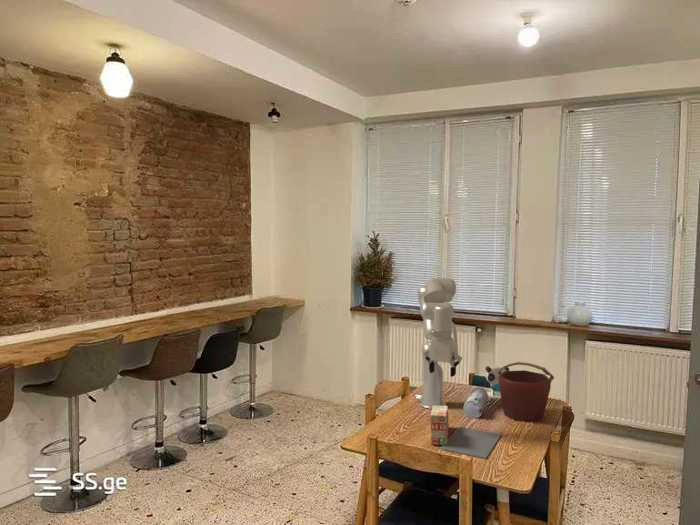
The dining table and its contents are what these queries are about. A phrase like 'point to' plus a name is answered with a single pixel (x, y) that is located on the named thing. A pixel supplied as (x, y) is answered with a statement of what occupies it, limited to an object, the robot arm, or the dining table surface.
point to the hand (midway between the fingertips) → (442, 374)
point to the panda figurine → (494, 380)
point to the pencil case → (476, 403)
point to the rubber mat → (472, 442)
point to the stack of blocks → (439, 425)
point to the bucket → (524, 393)
